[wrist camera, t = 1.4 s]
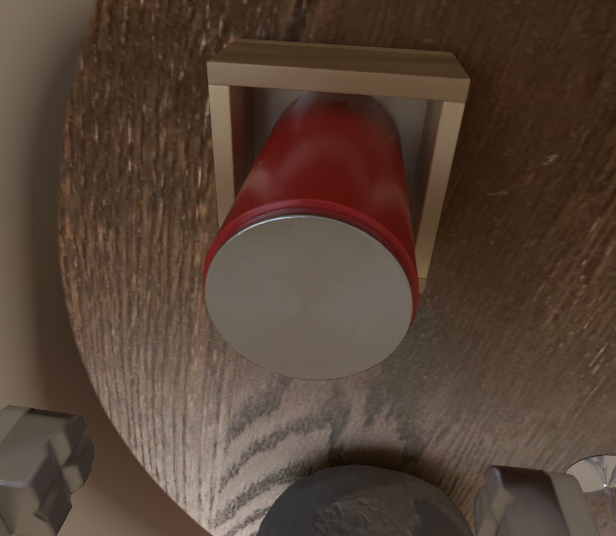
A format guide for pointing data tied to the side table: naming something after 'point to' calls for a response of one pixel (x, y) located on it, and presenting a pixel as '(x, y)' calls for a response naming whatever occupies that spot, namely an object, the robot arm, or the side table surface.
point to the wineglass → (597, 477)
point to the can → (318, 244)
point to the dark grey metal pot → (363, 506)
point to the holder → (346, 80)
